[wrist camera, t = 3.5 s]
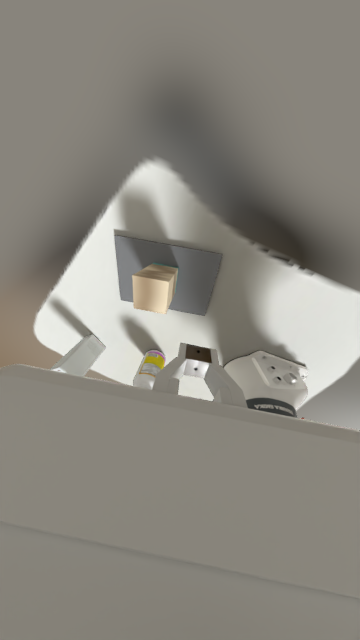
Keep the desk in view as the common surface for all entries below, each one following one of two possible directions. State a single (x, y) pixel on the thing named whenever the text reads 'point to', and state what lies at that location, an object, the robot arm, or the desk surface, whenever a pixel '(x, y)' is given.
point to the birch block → (154, 287)
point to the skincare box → (80, 357)
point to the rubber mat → (192, 263)
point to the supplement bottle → (149, 369)
